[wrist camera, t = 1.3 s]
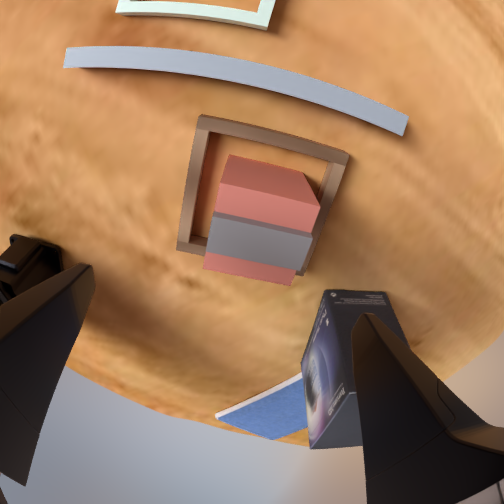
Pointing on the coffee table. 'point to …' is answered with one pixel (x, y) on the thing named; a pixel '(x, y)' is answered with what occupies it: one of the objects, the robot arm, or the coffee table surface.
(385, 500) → the robot arm
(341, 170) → the frame
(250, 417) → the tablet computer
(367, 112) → the door edge rail
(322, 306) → the small box
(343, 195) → the coffee table surface
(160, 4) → the socket
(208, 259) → the block
